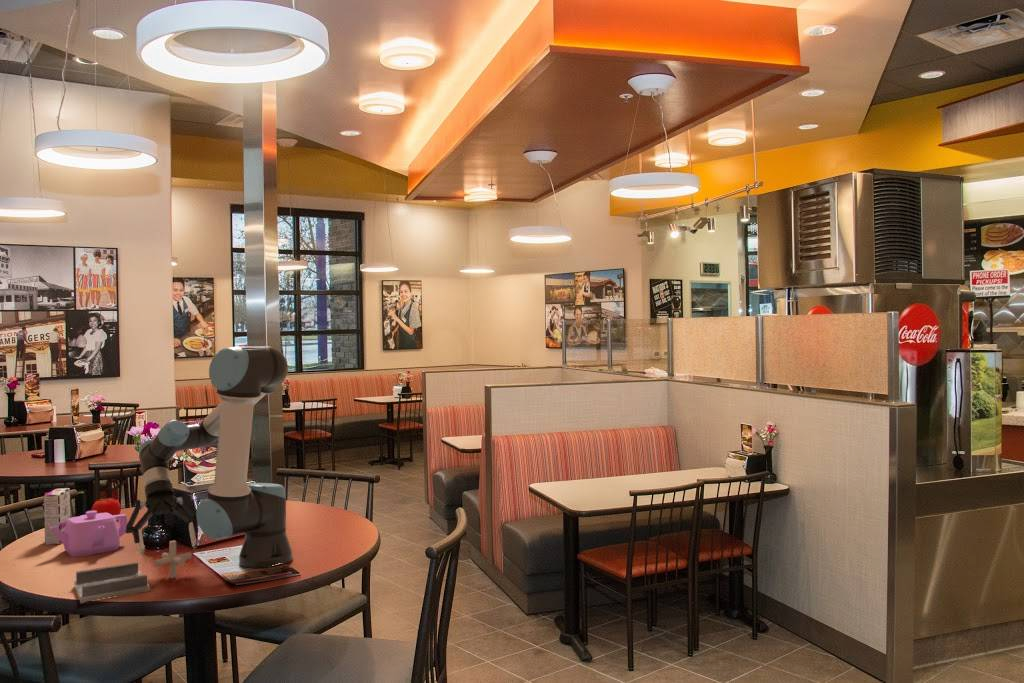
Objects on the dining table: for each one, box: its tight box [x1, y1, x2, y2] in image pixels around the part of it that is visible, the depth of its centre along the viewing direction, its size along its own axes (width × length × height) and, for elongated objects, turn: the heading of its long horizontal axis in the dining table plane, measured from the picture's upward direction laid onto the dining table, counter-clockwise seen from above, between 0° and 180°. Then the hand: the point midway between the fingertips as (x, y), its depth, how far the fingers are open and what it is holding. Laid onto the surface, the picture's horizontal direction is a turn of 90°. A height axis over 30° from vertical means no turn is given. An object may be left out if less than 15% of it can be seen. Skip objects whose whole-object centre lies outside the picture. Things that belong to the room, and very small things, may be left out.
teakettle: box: [50, 510, 128, 558], centre depth 244 cm, size 17×17×12 cm
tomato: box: [90, 496, 122, 515], centre depth 283 cm, size 9×10×8 cm
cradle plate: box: [73, 561, 150, 604], centre depth 206 cm, size 16×16×4 cm
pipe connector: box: [153, 540, 193, 579], centre depth 215 cm, size 10×10×10 cm
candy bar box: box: [43, 487, 72, 546], centre depth 256 cm, size 11×5×16 cm, turn 14°
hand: (168, 548), depth 217 cm, fingers open, 13 cm apart
